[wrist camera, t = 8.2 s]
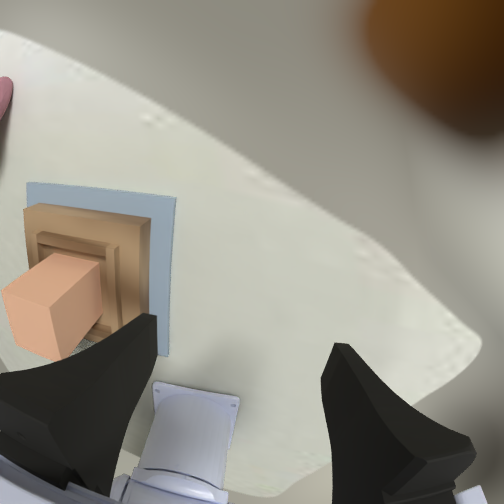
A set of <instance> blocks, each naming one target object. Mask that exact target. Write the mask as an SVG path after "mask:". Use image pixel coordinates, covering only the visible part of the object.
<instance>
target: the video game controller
mask: <svg viewBox="0 0 504 504" xmlns="http://www.w3.org/2000/svg"><path fill="white" fill-rule="evenodd" d="M12 90H13V82H12V80H11V79H10V78H8V77H1V78H0V120H1V118H2V116H3V115H4V113H5V111H6V109H7V106H8V104H9V102H10V98H11V95H12Z"/></svg>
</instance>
